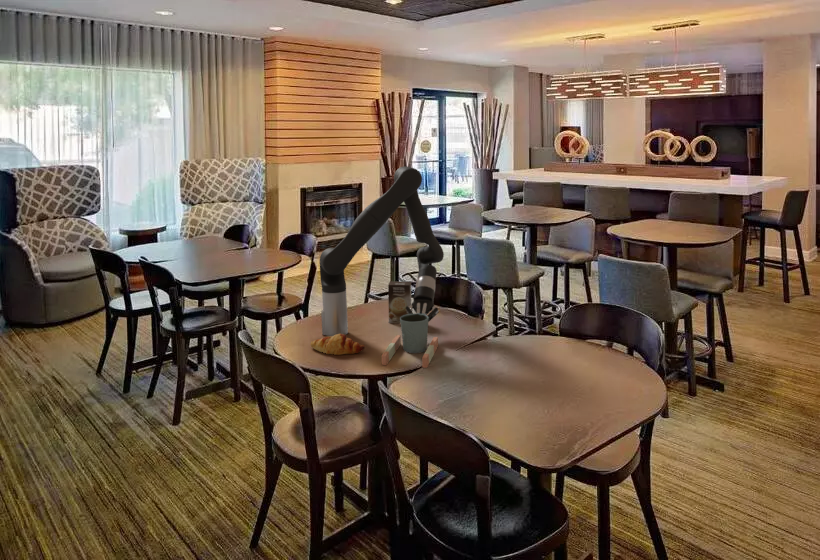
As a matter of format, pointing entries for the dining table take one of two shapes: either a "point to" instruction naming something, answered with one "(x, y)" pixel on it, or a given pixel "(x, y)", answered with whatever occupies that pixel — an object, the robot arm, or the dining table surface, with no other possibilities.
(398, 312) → the coffee box
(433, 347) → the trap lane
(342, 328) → the robot arm
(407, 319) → the grey green cup
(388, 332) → the dining table surface
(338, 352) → the croissant
